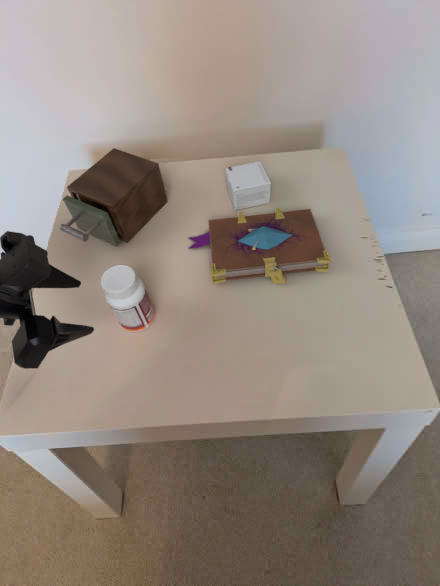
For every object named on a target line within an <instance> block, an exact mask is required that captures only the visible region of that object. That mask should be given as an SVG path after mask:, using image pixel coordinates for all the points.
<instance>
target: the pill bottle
mask: <svg viewBox="0 0 440 586" xmlns="http://www.w3.org/2000/svg"><path fill="white" fill-rule="evenodd" d="M100 286H101V288H102V290H103V292H104V298H105V301H106V304H107V305H108V306H109V308H110V309H111V311H112V313H113V315H114V317H115V318H116V320H117V321H118V323H119V325H120V326H121V327H122V328H123V330H125V331H127V332H130V333H139V332H143V331H145V330H147V329H148V328H149V327H150V326H151V325H152V324H153V322H154V320H155V316H156V311H155V307H154V305H153V303H152V301H151V298H150V296H149V293H148V291H147V289H146V286H145V284H144V282H143V281H142V279H141V278H139V277H138V276H137V274H136V272H135V270H134V269H133V268H132V267H131V266H129V265H126V264H117V265H113V266H111V267H110V268H108V269H107V270H105V271H104V272H103V274H102V276H101V278H100Z"/></svg>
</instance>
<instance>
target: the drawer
mask: <svg viewBox="0 0 440 586" xmlns="http://www.w3.org/2000/svg"><path fill="white" fill-rule="evenodd" d="M75 194H76V193H75ZM76 196H77V198H78V200H77V199H74V198H72V197H71V195H70V196H69V195H65V196H64V197H63V198H62V201H63V203H64V204H65V206H66V208H67V210H68V212H69V214H70V215H71V218H70V219H69V220H68V221H66V223H61V224H60V225H59V230H60V231H61V232H63V233H65V234H67V235H70V236H71V237H74V238H75V239H78V240H80V241H81V242H84V243H85V242H87V241H88V240H89V238H90V237H89V236H91V235H92V236H93V237H96V238H98V239H99V240H102V241H104V242H106V243H108V244H111V245H113V246H114V247H118V246H119V245H120V244H121V240H120V239H119V238H118V235H117V234H119V235H122V234H121V232H120V229H119V227H118V225H117V222H116V220H115V218H114V215H113V213H112V210H111V208H109V207H106V206H104V205H102V204H99V203H97V202H95V201H92V200H90V199H88V198H85V197H83V196H80V195H78V194H76ZM74 223H75V225H76V226H77V228H78V229H76V228H74V227H72V225H73V224H74Z"/></svg>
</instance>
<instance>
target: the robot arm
mask: <svg viewBox="0 0 440 586" xmlns="http://www.w3.org/2000/svg"><path fill="white" fill-rule="evenodd" d="M0 247H1V250H3V251H1V252H0V319H2V320H3V326H12V327H13V326H14V324H15V322H16V320H19V328H18V329H17V330H16V333H15V334H14V336H13V338H12V340H11V346H12V353H13V363H14V364H15V365H16V366H18V367H19V368H21V369H28V370H29V369H31V370H32V369H39V368H40V366H41V364H42V363H43V361H44V360H45V358H46V356H48V354H49V352H51V351H53V350H55V349H58V348H59V347H61V346H63V345H66V344H68V343H71V342H73V341H76V340H79V339H82V338H84V337H87V336H90V335H92V334H93V332H94V331H95V327H94V326H90V325H87V324H86V325H84V324H77V323H66V322H61V321H59V319H58V318H57V317H56V316H55V315H52V316H51V317H50V319H49V318H47V316H45V315H39V314H37V313H36V309H35V302H34V301H35V300H34V296H33V291H32V289H78V288H80V286H81V285H82V281H81V280H79V279H77V278H75V277H73V276H71V275H70V274H68V273H66V272H64V271H62V270H60V269H58V268H57V267H55V266H54V265H52V264H50V261H49V258H48V255H49V251H48V250H46V249H45V248H43V247H41V246H39V245H37V243H36V241H35V238H34V236H33V235H31V234H29V235H28V234H27V235H26V234H25V233H22V232H16V231H10V230H6V231H5V232H3V234H2V235H1V236H0Z"/></svg>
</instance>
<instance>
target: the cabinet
mask: <svg viewBox="0 0 440 586" xmlns="http://www.w3.org/2000/svg"><path fill="white" fill-rule="evenodd" d="M66 188H67V191H68V193H69V195H70V197H72V198H74V199H77V200H78V198H77V196H76V194H78V195H80V196H83V197H85V198H88V199H90V200H92V201H95V202H97V203H99V204H102V205H104V206H106V207H109V208H111V210H112V213H113V215H114V218H115V220H116V222H117V225H118V227H119V229H120V232H121V234H122V235H119V234H117V235H118V238H119V240H120V241H122V242H124V243H126V244H128V243H130V241H132V239H133V238H134V237H136V235H137V234H138V233H139V232H140V231H141V230H142V229H143V228H144V227H145V226H146V225H147V224H148V223H149V222H150V221H151V220H152V219H153V218H154V216H155V215H156V214H157V213H158V212H160V211H161V209H163V207H164V206H165V205H166V204H168V202H169V200H168V196H167V193H166V189H165V184H164V180H163V176H162V173H161V167H160V164H159V162H156V161H153V160H150V159H148V158H147V159H146V158H144V157H141V156H139V155H136V154H132V153H130V152H126V151H124V150H121V149H119V148H118V149H117V148H115V147H113V148H112V149H111V150H109V152H107V153H106V154H105V155H104V156H103V157H101V158H100V159H99V160H97V162H95V163H94V164H93V165H91V166H90V167H89V168H88V169H87V170H85V171H83V173H82V174H81V175H79V177H77V178H76V179H75V180H74V181H72V182H70V184H69V185H68V186H66ZM75 193H76V194H75Z"/></svg>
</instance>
